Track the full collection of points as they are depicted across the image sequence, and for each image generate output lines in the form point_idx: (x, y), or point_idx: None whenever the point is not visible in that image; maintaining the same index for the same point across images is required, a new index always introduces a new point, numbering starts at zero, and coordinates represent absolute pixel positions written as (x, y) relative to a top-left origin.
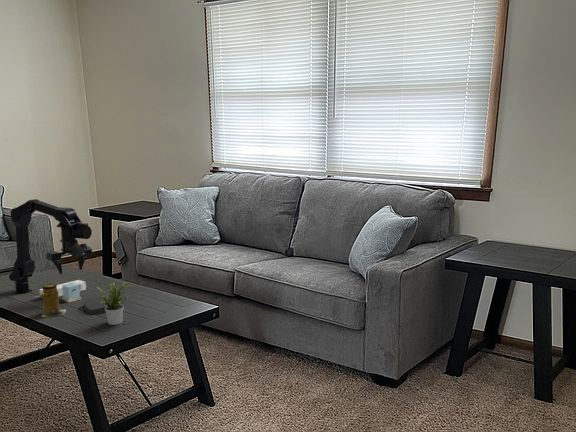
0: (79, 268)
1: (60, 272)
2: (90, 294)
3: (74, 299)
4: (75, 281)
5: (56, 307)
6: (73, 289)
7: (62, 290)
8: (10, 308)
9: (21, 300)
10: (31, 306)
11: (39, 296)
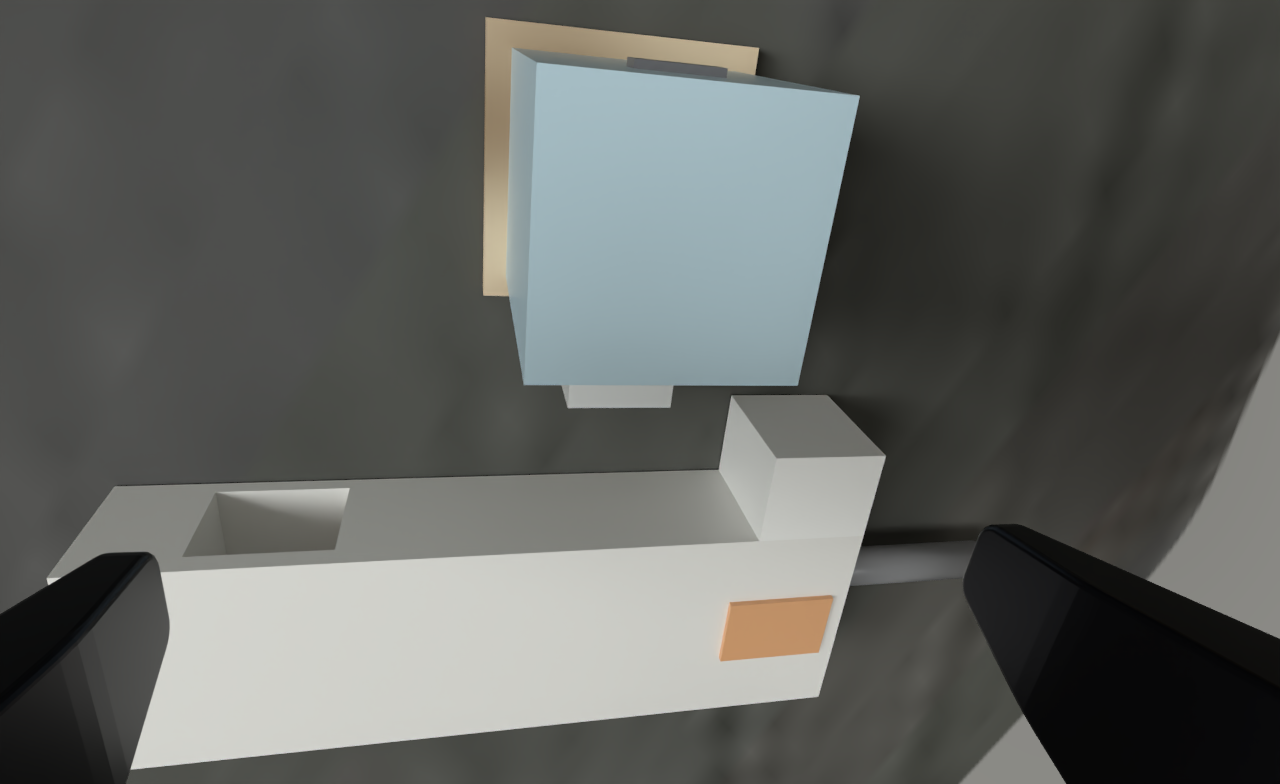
0: (155, 676)
1: (1084, 567)
2: (193, 139)
3: (639, 49)
4: (206, 723)
5: None
6: (692, 74)
7: (580, 522)
8: (1188, 480)
9: (947, 639)
10: (1078, 366)
11: (870, 556)
